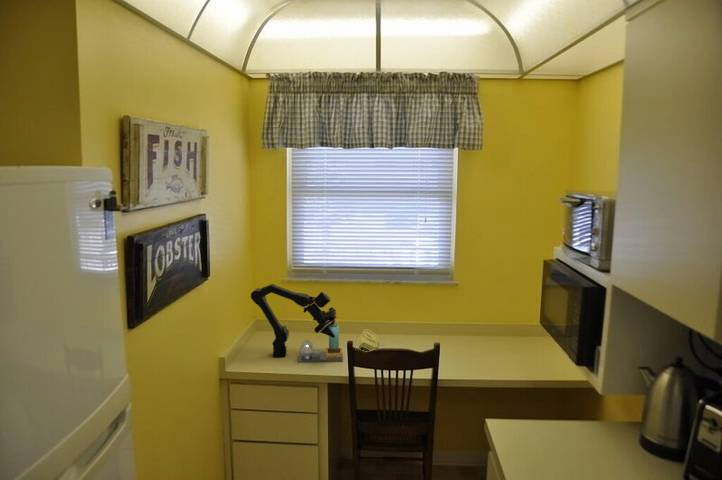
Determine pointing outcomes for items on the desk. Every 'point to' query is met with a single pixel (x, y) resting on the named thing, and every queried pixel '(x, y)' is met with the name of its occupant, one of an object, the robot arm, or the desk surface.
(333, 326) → the teal cylinder grey dome
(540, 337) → the desk surface
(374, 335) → the plastic component
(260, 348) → the desk surface
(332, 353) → the motor assembly
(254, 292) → the robot arm
